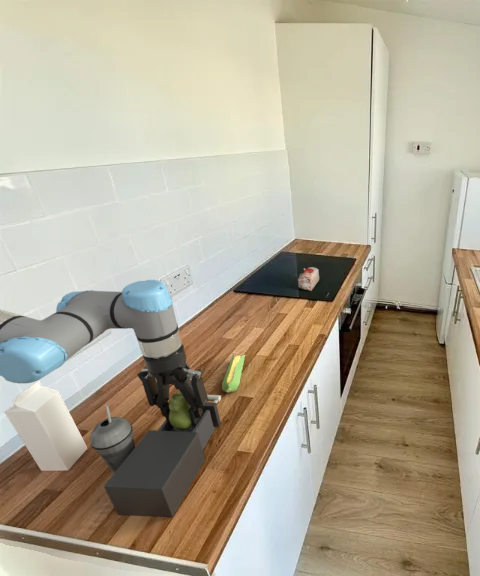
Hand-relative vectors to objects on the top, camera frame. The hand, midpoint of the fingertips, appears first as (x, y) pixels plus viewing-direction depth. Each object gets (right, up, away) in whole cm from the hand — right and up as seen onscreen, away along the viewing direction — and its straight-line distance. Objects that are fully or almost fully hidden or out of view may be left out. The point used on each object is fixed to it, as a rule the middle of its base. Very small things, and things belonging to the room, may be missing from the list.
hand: (186, 424), depth 81 cm
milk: (-27, -7, -3) cm, 29 cm away
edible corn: (0, +5, +26) cm, 27 cm away
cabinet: (0, -11, -7) cm, 13 cm away
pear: (0, 0, 0) cm, 0 cm away
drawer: (0, -4, +4) cm, 6 cm away
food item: (+10, +35, +90) cm, 97 cm away
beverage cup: (-11, -9, -4) cm, 15 cm away
